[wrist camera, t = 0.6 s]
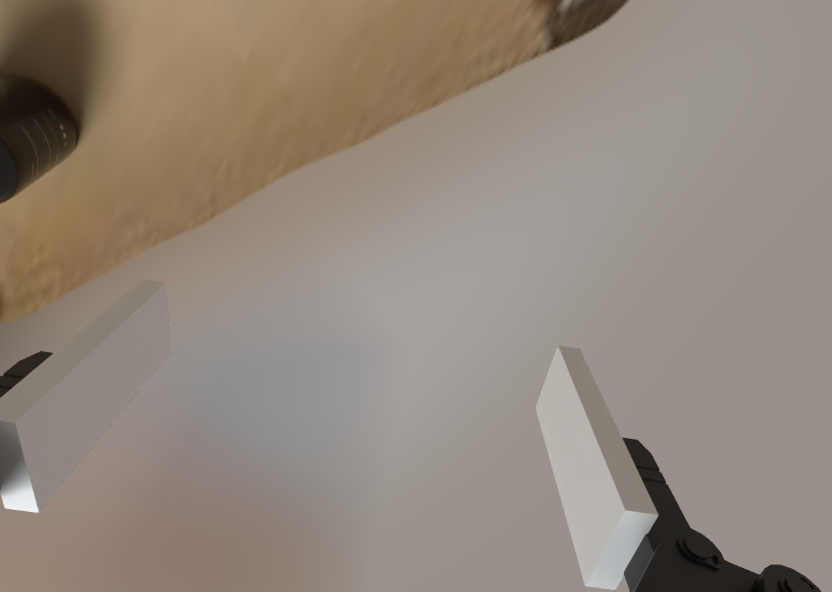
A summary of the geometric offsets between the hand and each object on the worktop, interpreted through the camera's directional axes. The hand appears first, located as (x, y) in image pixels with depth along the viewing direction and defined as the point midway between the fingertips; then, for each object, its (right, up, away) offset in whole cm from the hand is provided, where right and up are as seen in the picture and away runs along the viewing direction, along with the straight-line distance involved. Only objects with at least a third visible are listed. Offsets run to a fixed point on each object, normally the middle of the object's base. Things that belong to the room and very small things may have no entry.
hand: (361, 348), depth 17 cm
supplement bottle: (-28, +16, +23) cm, 40 cm away
